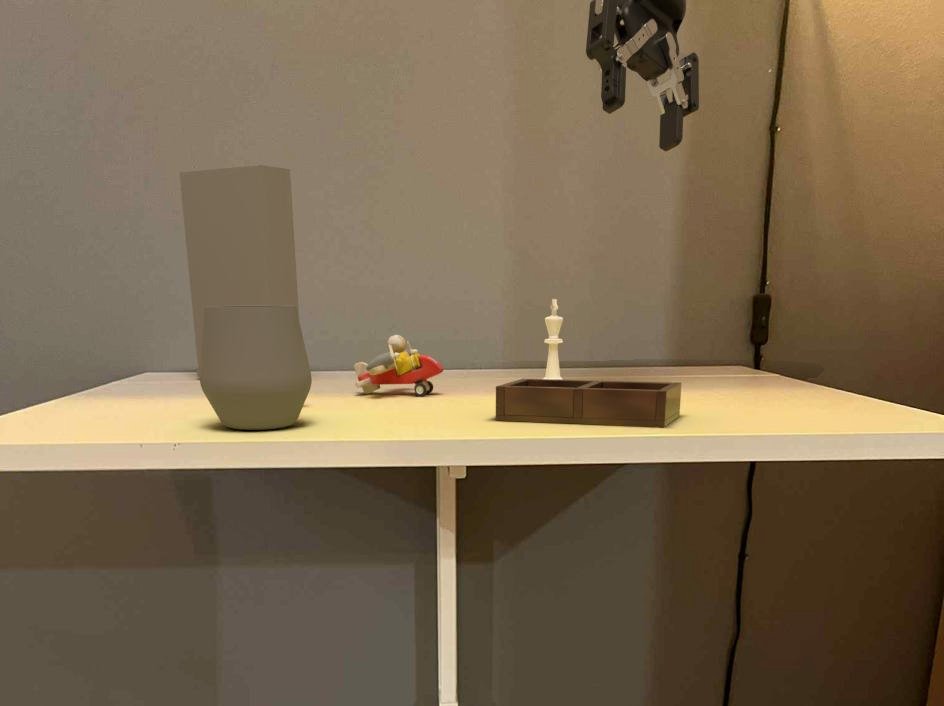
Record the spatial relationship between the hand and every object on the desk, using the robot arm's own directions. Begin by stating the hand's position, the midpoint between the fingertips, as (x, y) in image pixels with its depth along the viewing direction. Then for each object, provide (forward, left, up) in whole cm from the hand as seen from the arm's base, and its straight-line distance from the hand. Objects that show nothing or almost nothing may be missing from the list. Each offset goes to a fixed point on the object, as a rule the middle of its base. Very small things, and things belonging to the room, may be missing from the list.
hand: (642, 128), depth 95 cm
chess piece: (+9, -3, -26) cm, 28 cm away
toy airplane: (+26, +3, -26) cm, 37 cm away
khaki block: (+52, -9, -26) cm, 59 cm away
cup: (+26, +31, -26) cm, 48 cm away
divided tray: (0, +17, -26) cm, 31 cm away
